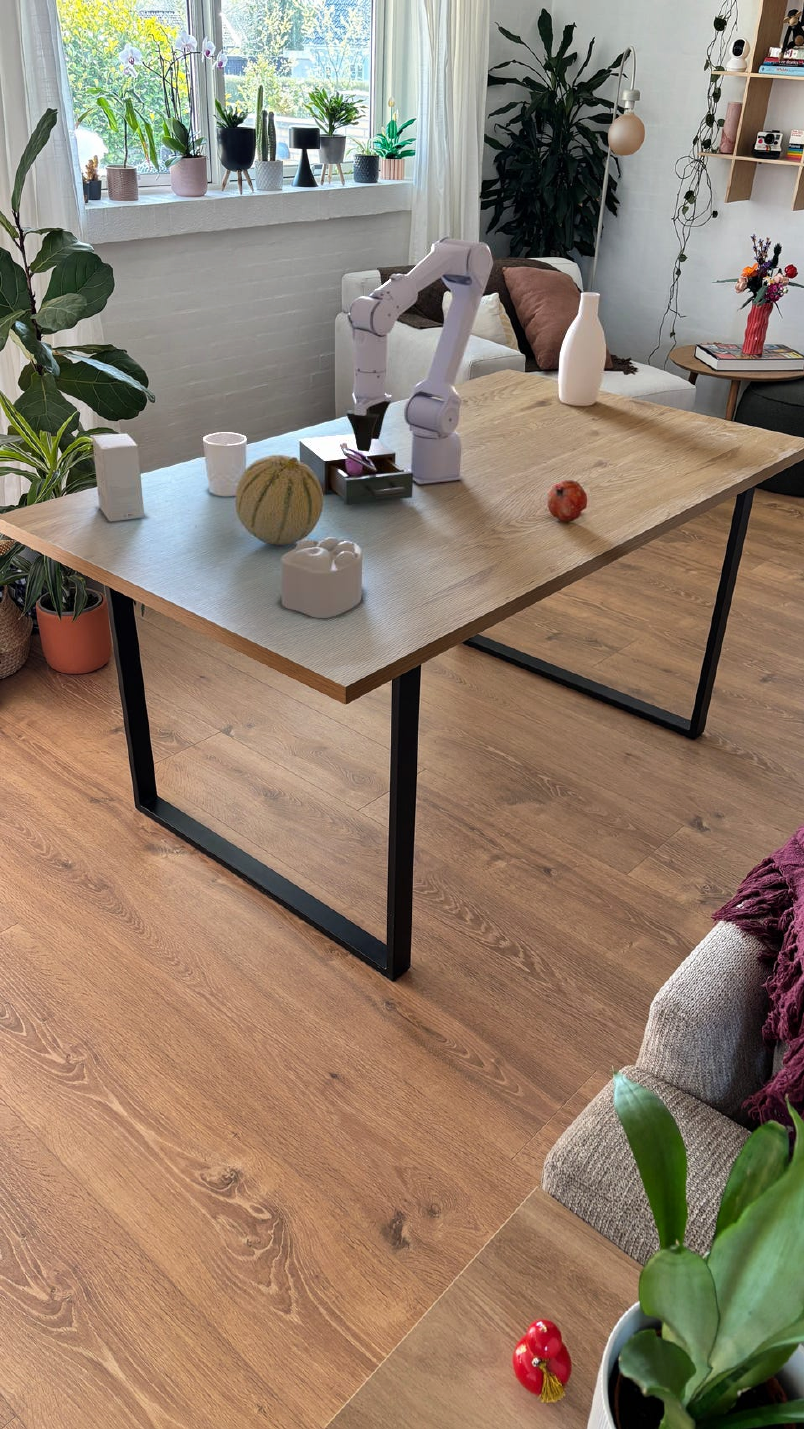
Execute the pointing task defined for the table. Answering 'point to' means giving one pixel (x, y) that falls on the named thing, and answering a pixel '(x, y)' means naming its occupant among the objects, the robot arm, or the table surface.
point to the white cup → (224, 462)
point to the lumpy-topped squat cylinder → (322, 577)
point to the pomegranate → (567, 500)
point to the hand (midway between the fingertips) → (368, 444)
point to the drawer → (371, 482)
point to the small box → (118, 476)
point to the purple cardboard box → (355, 460)
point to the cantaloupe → (279, 499)
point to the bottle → (583, 355)
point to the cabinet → (335, 455)
